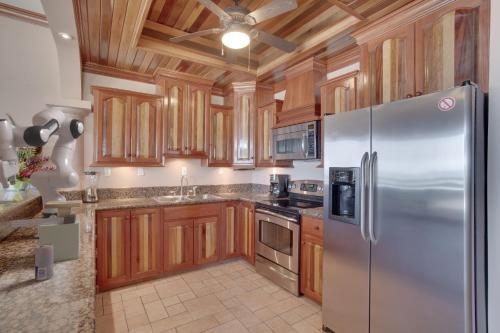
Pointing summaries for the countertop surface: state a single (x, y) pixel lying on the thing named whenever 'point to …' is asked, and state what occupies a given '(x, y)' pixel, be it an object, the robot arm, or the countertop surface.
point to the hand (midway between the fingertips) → (10, 186)
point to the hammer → (45, 221)
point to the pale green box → (62, 240)
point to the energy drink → (43, 262)
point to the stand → (63, 208)
